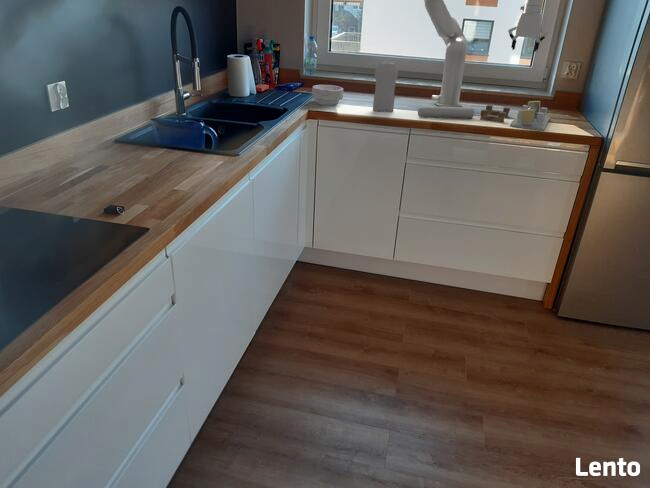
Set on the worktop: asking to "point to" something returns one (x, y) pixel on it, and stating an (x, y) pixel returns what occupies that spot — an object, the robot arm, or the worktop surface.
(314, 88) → the paper bowls
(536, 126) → the v block stand
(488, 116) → the beam saddles
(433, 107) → the tube
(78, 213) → the worktop surface
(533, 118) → the tan square beam
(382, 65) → the tall pale column
